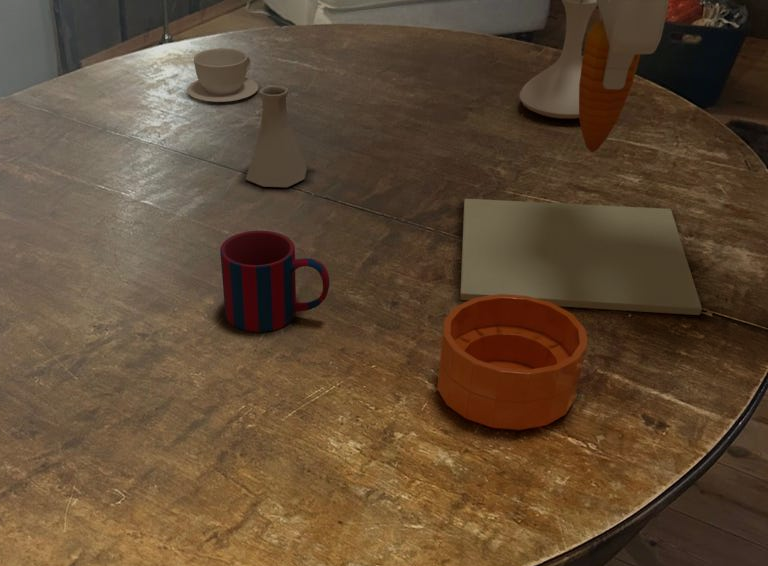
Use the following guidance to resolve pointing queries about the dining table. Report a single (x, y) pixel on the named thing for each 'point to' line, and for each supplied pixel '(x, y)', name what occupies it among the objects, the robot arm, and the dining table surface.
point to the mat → (576, 256)
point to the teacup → (222, 76)
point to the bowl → (510, 361)
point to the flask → (276, 144)
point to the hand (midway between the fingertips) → (608, 73)
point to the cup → (263, 280)
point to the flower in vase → (562, 69)
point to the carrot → (599, 90)
